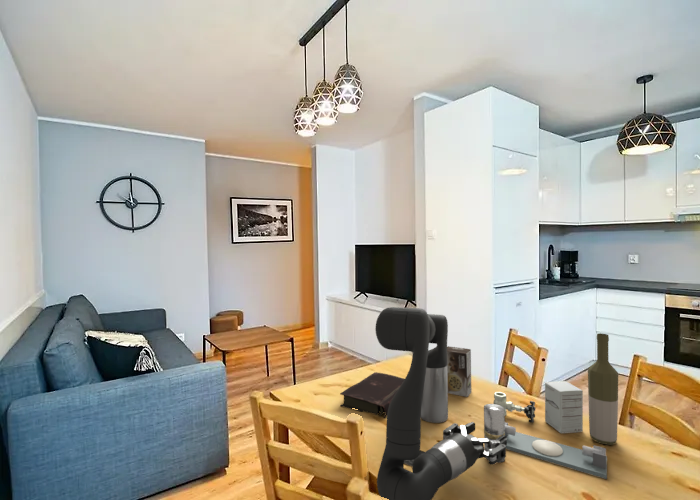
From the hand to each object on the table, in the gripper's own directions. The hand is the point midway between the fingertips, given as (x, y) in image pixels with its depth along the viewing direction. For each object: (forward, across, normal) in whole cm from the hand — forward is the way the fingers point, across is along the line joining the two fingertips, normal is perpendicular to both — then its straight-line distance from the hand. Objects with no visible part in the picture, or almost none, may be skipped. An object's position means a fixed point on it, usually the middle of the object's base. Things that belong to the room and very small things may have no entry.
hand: (488, 432), depth 93 cm
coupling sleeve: (+3, 0, +8) cm, 8 cm away
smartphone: (-14, +13, +8) cm, 21 cm away
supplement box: (+32, -6, +8) cm, 34 cm away
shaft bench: (+15, -8, +8) cm, 19 cm away
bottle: (+33, -16, +8) cm, 37 cm away
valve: (+27, +7, +8) cm, 29 cm away
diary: (+5, +46, +8) cm, 47 cm away
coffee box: (+31, +30, +8) cm, 44 cm away
